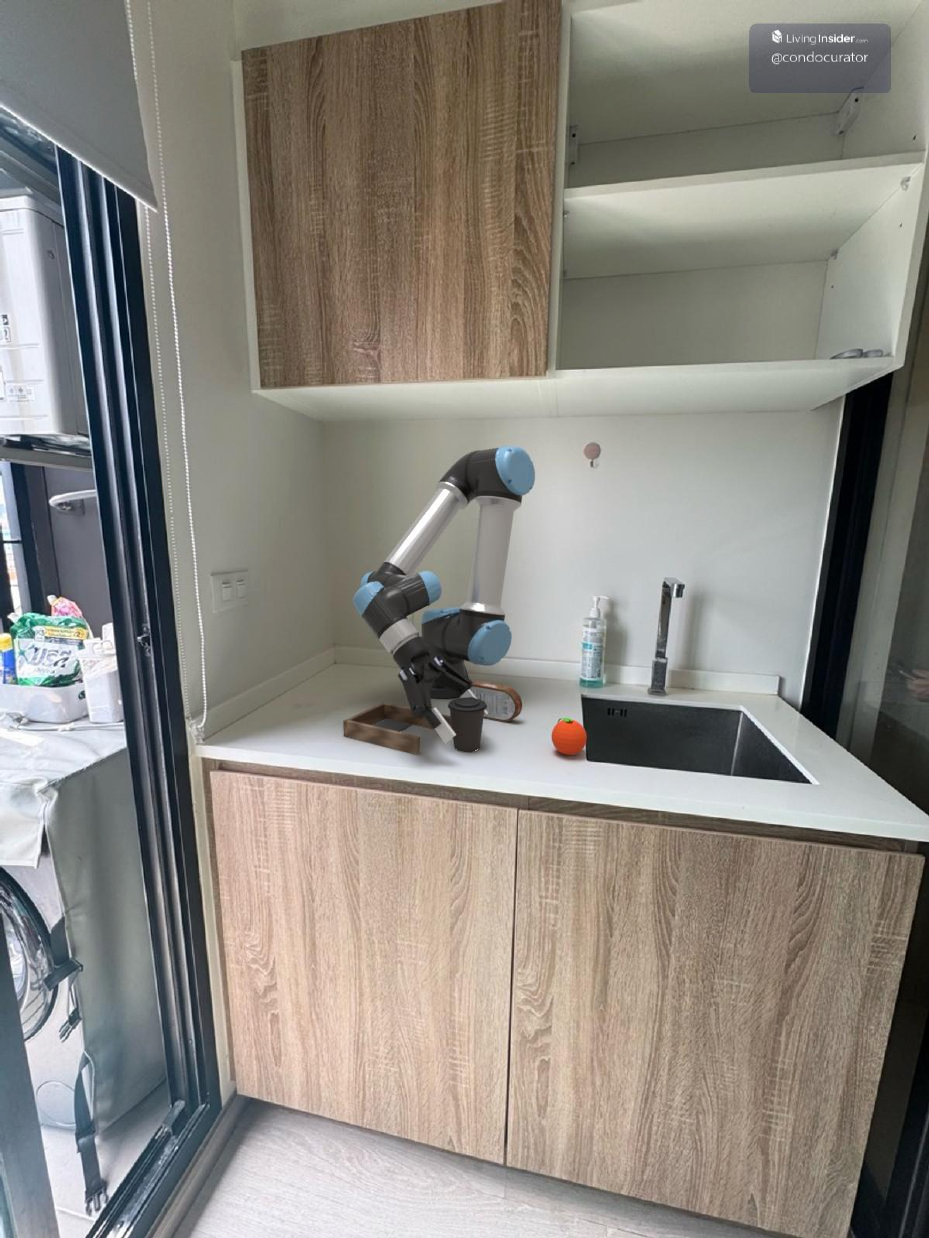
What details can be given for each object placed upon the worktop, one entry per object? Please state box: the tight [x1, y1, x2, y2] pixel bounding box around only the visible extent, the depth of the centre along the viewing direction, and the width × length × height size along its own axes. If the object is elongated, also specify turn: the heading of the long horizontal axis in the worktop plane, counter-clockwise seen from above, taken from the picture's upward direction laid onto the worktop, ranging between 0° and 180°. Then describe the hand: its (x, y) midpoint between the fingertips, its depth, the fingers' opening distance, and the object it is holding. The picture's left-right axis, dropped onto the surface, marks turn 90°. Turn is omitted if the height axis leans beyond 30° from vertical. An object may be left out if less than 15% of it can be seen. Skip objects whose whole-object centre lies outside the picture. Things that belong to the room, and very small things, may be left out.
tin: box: [470, 680, 523, 723], centre depth 124 cm, size 15×3×8 cm, turn 59°
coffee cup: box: [447, 697, 487, 753], centre depth 107 cm, size 8×8×10 cm
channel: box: [342, 701, 452, 756], centre depth 114 cm, size 19×14×4 cm
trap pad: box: [372, 718, 412, 732], centre depth 116 cm, size 7×11×1 cm, turn 151°
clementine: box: [551, 717, 588, 756], centre depth 105 cm, size 8×7×7 cm
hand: (468, 727), depth 105 cm, fingers open, 13 cm apart
